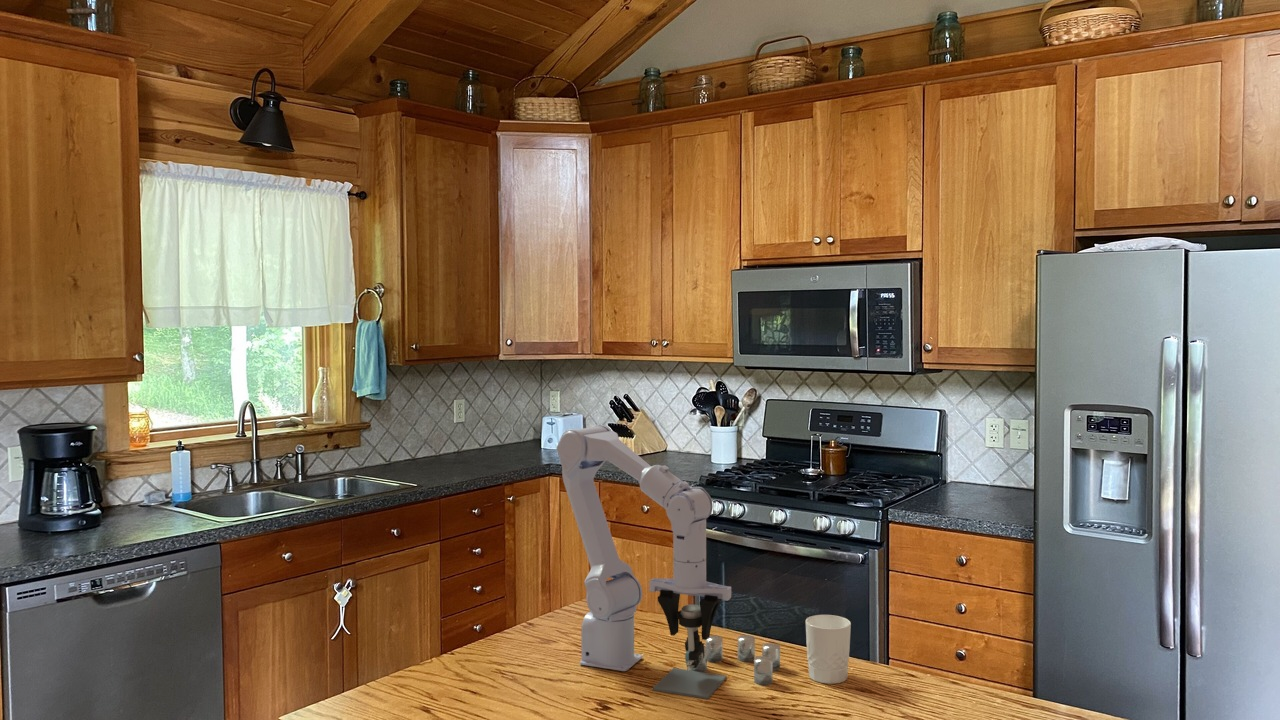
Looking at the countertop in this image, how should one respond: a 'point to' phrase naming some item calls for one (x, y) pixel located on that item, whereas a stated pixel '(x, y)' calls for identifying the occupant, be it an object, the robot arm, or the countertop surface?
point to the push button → (692, 634)
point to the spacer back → (746, 648)
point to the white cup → (828, 648)
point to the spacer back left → (714, 648)
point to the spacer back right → (772, 654)
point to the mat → (690, 683)
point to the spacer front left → (702, 666)
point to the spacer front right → (763, 670)
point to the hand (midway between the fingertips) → (689, 635)
